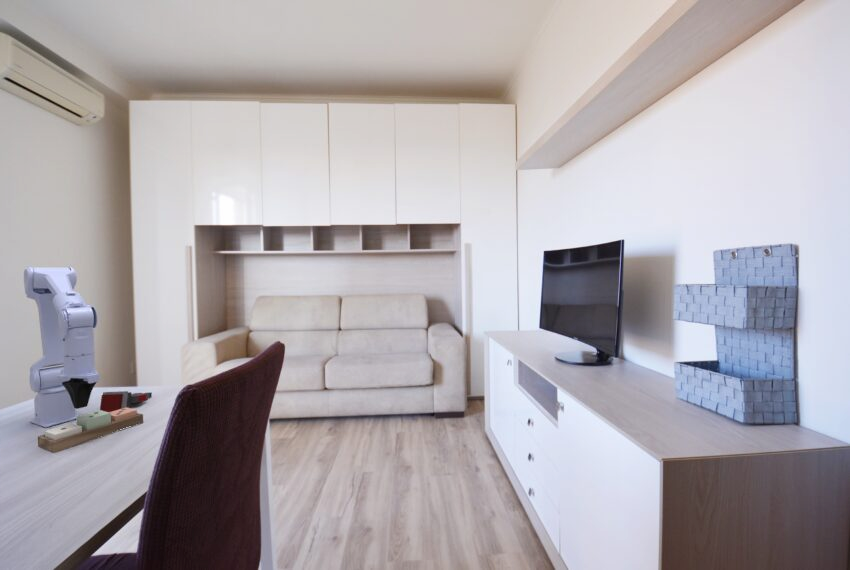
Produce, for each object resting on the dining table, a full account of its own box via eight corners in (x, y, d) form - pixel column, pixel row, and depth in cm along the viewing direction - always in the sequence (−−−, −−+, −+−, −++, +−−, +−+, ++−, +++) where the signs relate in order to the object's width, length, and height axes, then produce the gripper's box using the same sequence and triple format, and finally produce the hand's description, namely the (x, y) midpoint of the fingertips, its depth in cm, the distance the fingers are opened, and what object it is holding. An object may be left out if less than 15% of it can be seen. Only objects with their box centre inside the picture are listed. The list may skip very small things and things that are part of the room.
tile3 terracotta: (105, 425, 98) (104, 413, 98) (126, 419, 103) (126, 407, 103) (115, 428, 96) (115, 416, 96) (136, 421, 101) (136, 409, 101)
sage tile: (76, 429, 93) (76, 416, 93) (100, 422, 98) (100, 409, 97) (87, 433, 91) (86, 419, 91) (111, 425, 95) (110, 412, 95)
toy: (128, 406, 121) (92, 414, 106) (130, 387, 122) (95, 393, 107) (156, 405, 122) (124, 413, 107) (158, 386, 123) (126, 392, 108)
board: (37, 446, 87) (37, 436, 87) (126, 418, 104) (126, 410, 104) (54, 452, 84) (53, 442, 84) (143, 422, 101) (142, 414, 101)
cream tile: (45, 444, 88) (44, 430, 87) (72, 436, 92) (71, 422, 92) (55, 448, 85) (54, 434, 85) (82, 439, 90) (81, 426, 90)
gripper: (44, 355, 91) (46, 408, 91) (72, 360, 85) (74, 417, 85) (80, 349, 97) (81, 399, 98) (109, 354, 91) (110, 407, 91)
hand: (80, 407), depth 92 cm, fingers closed
